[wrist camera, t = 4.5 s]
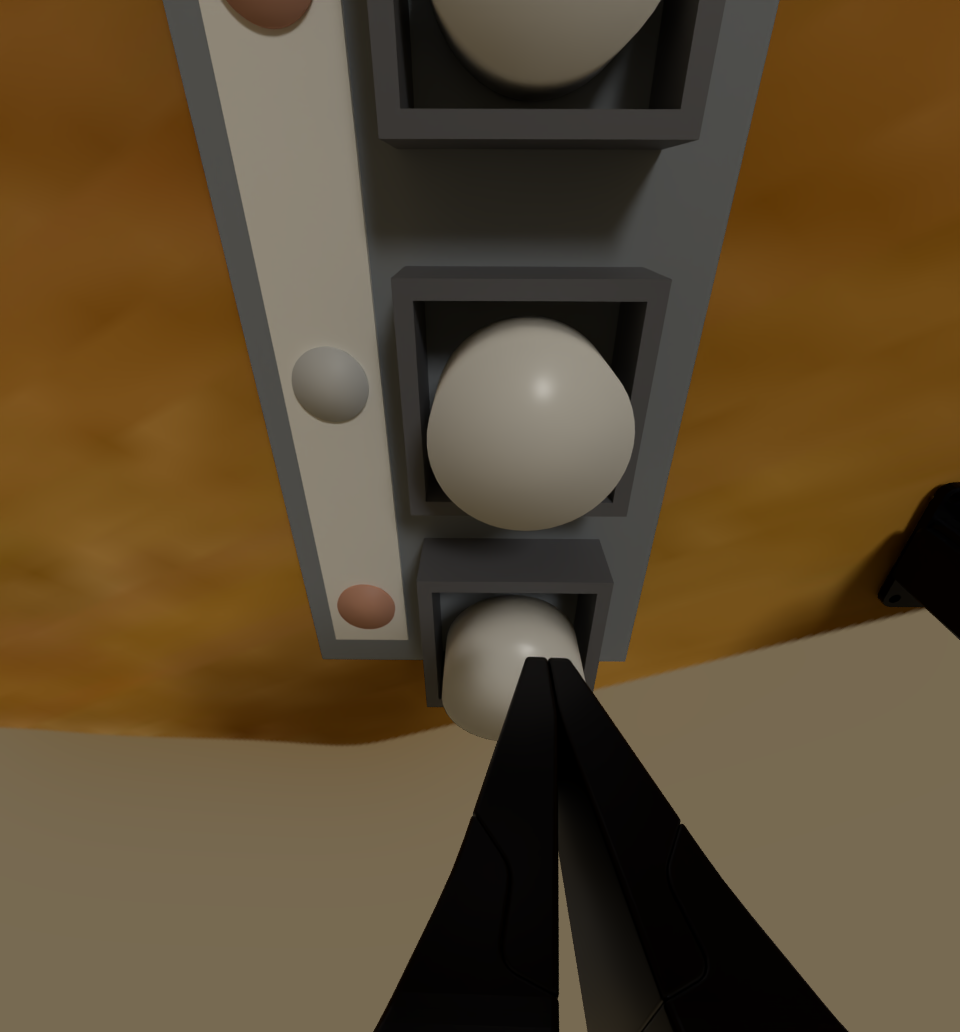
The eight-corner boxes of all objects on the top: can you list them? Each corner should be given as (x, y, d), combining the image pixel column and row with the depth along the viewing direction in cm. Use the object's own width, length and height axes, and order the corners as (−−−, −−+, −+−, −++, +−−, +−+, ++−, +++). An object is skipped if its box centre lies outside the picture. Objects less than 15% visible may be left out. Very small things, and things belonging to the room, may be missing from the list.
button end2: (583, 595, 18) (596, 648, 16) (569, 686, 21) (579, 742, 18) (444, 594, 18) (438, 647, 16) (448, 686, 21) (444, 741, 19)
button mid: (625, 316, 13) (653, 339, 11) (599, 486, 15) (617, 531, 13) (431, 315, 13) (420, 338, 11) (438, 485, 16) (431, 530, 13)
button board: (784, -224, 11) (973, -488, 7) (613, 622, 25) (639, 710, 21) (159, -223, 11) (-43, -486, 7) (336, 620, 25) (305, 707, 21)
